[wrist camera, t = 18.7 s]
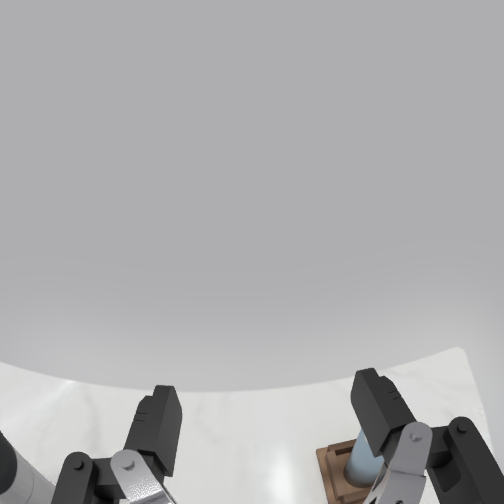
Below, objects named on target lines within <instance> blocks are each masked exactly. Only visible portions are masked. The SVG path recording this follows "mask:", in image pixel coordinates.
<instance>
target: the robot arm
mask: <svg viewBox="0 0 504 504" xmlns="http://www.w3.org/2000/svg"><path fill="white" fill-rule="evenodd" d="M351 403H352V406H353V408H354V411H355V413H356V415H357V418H358V420H359V423H360V425H361V427H362V430H363V432H364V434H365V437H366V439H367V442H368V444H369V446H370V449H371V451H372V454H373V456H374V458H376V457H379V456H383V458H384V461H383V463H382V466H381V468H380V471H379V473H378V475H377V478H376V480H375V482H374V484H373V487H372V489H371V491H370V493H369V495H368V497H367V498H366V500H365V501H364V503H363V504H419V502H420V499H421V496H422V493H423V490H424V487H425V483H426V476H424V470H425V469H426V470H427V472H428V474H429V477H430V479H431V482H432V484H433V487H434V489H435V492H436V494H437V497H438V500H439V502H440V504H504V476H503V474H502V472H501V470H500V468H499V466H498V464H497V462H496V461H495V459H494V457H493V455H492V453H491V452H490V450H489V448H488V446H487V445H486V443H485V441H484V440H483V438H482V436H481V435H480V433H479V431H478V430H477V428H476V427H475V425H474V423H473V422H472V421H471V420H470V419H469V418H467V417H456V418H454V419H453V420H452V421H451V422H450V424H449V425H448V426H442V427H434V428H430V427H429V426H428V425H426V424H425V423H422V422H417V421H416V419H415V417H414V416H413V414H412V412H411V411H410V409H409V408H408V406H407V404H406V403H405V401H404V399H403V398H402V397H401V395H400V393H399V391H397V388H396V386H395V385H394V383H393V382H392V381H391V380H389V379H388V378H387V377H385V376H381V377H379V375H378V374H377V372H376V370H375V369H374V368H368V369H364V370H360V371H357V372H356V374H355V378H354V382H353V386H352V390H351ZM133 420H134V421H133V422H132V425H131V428H130V431H129V434H128V437H127V440H126V443H125V446H124V448H123V450H121V451H119V452H117V453H115V454H114V455H113V457H111V458H101V459H91V458H90V457H89V456H88V455H87V454H85V453H83V452H73V453H71V454H69V455H68V456H67V457H66V459H65V461H64V464H63V467H62V469H61V472H60V475H59V478H58V482H57V485H56V486H54V485H53V484H52V483H51V482H50V481H48V480H47V479H46V478H45V477H44V476H43V475H42V474H40V473H39V472H38V471H37V470H36V469H35V468H34V467H33V466H32V465H31V464H30V463H29V462H28V461H27V460H25V459H24V458H23V457H22V456H21V455H20V454H19V453H18V451H17V450H16V449H15V448H14V447H13V446H12V445H11V444H10V443H9V442H8V441H7V439H6V438H5V437H4V436H3V434H2V433H1V431H0V504H119V501H120V499H128V501H129V503H130V504H178V503H177V502H176V501H175V499H174V498H173V497H172V495H171V494H170V493H169V491H168V490H167V488H166V487H165V486H164V484H163V482H164V476H168V477H173V470H174V464H175V457H176V451H177V445H178V439H179V434H180V428H181V422H182V408H181V405H180V402H179V399H178V397H177V394H176V391H175V388H174V386H164V385H157V386H156V387H155V389H154V392H153V395H152V396H145V397H144V398H143V399H142V400H141V401H140V403H139V404H138V407H137V410H136V414H135V416H134V419H133Z"/></svg>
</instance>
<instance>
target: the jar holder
mask: <svg viewBox="0 0 504 504" xmlns="http://www.w3.org/2000/svg"><path fill="white" fill-rule="evenodd" d="M356 440H357V439H354V440H350V441H346V442H342V443H337V444H332V445H329V446H328V447H326V448H320V449H317V450H316V454H317V458H318V462H319V466H320V470H321V474H322V478H323V482H324V486H325V491H326V495H327V499H328V503H329V504H363V503H364V501H365V500H366V498H367V497H368V495H369V493H370V491H371V489H372V487H373V486H372V487H369V488H356V487H353V486H351V485H350V484H348V483H347V482H346V480H345V478H344V475H343V470H344V467H345V465H346V462H347V460H348V458H349V456H350V454H351V452H352V449H353V447H354V445H355V443H356Z"/></svg>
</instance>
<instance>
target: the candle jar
mask: <svg viewBox="0 0 504 504" xmlns="http://www.w3.org/2000/svg"><path fill="white" fill-rule="evenodd" d="M383 461H384V458H383V456H379V457H376V458H374V456H373V454H372V451H371V449H370V446H369V444H368V442H367V439H366V437H365V434H364V432H363V430H362V428H361V431H360V433H359V436H358V438H357V440H356V443H355V445H354V447H353V449H352V452H351V454H350V456H349V458H348V460H347V462H346V465H345V467H344V470H343V475H344V478H345V480H346V482H347V483H348V484H350V485H351V486H353V487H356V488H369V487H372V486H373V484H374V482H375V480H376V478H377V475H378V473H379V471H380V468H381V466H382V463H383Z"/></svg>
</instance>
